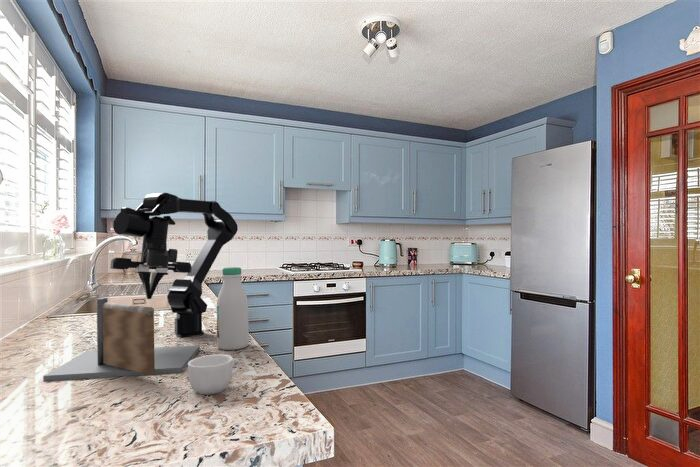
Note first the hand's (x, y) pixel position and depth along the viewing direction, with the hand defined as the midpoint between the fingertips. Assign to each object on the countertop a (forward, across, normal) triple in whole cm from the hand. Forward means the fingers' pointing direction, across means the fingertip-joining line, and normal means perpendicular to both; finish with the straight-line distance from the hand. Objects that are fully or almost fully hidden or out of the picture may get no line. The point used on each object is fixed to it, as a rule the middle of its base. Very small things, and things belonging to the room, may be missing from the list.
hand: (148, 299), depth 108 cm
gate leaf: (+13, -7, -23) cm, 27 cm away
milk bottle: (+11, +18, -15) cm, 26 cm away
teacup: (+14, +5, -41) cm, 44 cm away
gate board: (+14, -5, -14) cm, 20 cm away
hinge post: (+13, -10, -14) cm, 22 cm away
